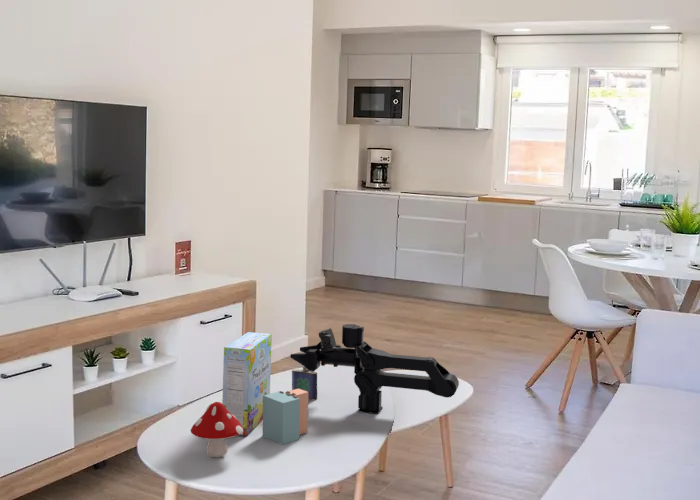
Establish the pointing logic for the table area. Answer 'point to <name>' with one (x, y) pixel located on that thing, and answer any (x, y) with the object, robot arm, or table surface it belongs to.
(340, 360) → the robot arm
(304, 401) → the stub
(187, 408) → the table surface
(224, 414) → the decorative mushroom
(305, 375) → the flask
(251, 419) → the snack box
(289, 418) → the teal block
